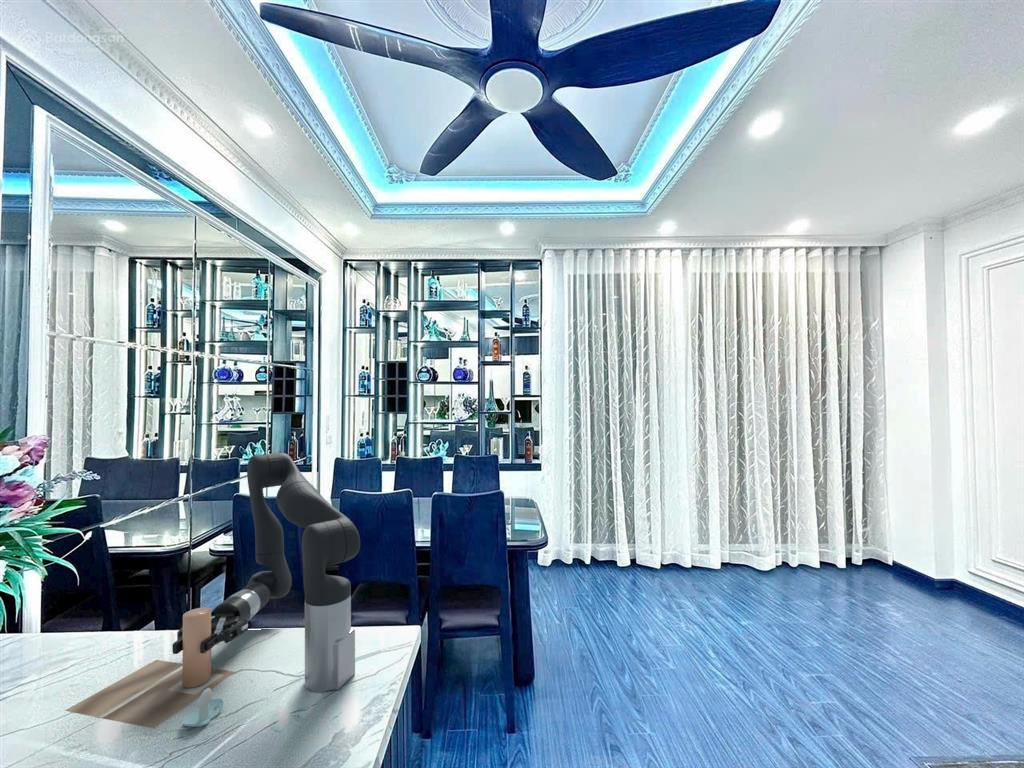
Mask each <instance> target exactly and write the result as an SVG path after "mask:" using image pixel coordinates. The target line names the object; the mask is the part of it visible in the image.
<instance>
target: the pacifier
mask: <svg viewBox="0 0 1024 768" xmlns="http://www.w3.org/2000/svg"><path fill="white" fill-rule="evenodd" d="M212 698H213V691H212V689H210V688H207V689H205V690H204V691H203V692H202V694H201V695H200V697H199V698H197V702H196V708H197V709H196V710H194V711H193V712H191V714H189V715H187V716H186V717H185V718H183V720H182V721H181V722H180V723H179V725H178V729H179V730H180V731H185V730H189V729H192V728H193V727H202V726H206V725H208V724H209V723H210V721H211V720H213V719H215V718H216V717H218V715H219V714H220V713H221V712H222V711H223V710H222V709H223V708H224V707H223V706H224V700H223V699H222V698H217V697H215V698H213V699H212ZM184 726H186V727H184Z"/></svg>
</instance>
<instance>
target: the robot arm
mask: <svg viewBox="0 0 1024 768" xmlns="http://www.w3.org/2000/svg"><path fill="white" fill-rule="evenodd" d="M246 477H247V487H248V492H249V494H248V495H249V500H250V508H251V512H252V519H253V524H254V525H253V526H254V536H255V539H254V540H255V543H254V544H255V561H256V563H257V564H258V565H261V566H266V567H268V568H269V569H270V570H263V571H258V572H256V573H254V574H253V575H252V576H251V577H250V578H249V580H248V582H247V584H246V585H245V587H243V588H242V589H241V590H239V591H237V592H235V593H233V594H232V595H230V596H228V597H227V598H226V599H224V600H223V601H222V602H221V603H219V604H218V605H216V606H215V607H214V608H213V609H212V610H211V635H210V636H209V637H208V638H206V639H205V640H204V641H203V642H201V644H200V653H206V652H207V651H208V650H210V649H211V650H212V649H213V648H214V647H215V646H217V645H220V644H221V643H222V642H224V643H225V644H229V643H232V641H233V640H235V639H238V637H240V636H241V635H243V634H245V633H246V632H248V631H249V622H250V620H251V619H252V618H254V616H255V615H256V614H257V613H259V612H260V610H262V609H263V608H264V607H265V606H266V605H267V604H268V602H269V600H270V599H281V598H284V597H286V596H287V594H289V592H290V590H291V587H292V584H293V583H292V579H293V578H292V574H291V571H290V569H289V565H288V563H287V559H286V556H285V555H286V554H285V540H284V539H285V537H284V529H283V525H282V524H281V522H280V520H279V519H278V518H277V516H276V515H275V514H274V512H273V511H272V510H271V508H270V506H268V504H267V502H266V500H265V497H264V489H266V488H267V489H268V488H272V487H279V486H280V487H279V488H278V490H277V492H276V496H275V497H276V499H275V502H276V506H277V507H278V510H279V511H280V513H281V514H282V516H284V518H285V519H286V520H287V521H288V522H290V523H291V524H293V525H295V526H297V527H300V528H304V530H303V533H302V537H301V552H302V553H301V555H302V556H301V557H302V569H303V570H302V571H303V572H302V573H303V574H302V575H303V576H302V577H303V578H302V579H303V589H304V590H303V591H304V687H305V689H307V690H309V691H311V692H321V693H322V692H327V691H332V690H337V691H338V690H340V689H341V688H342V687H343V686H344V685H345V684H346V683H347V682H348V681H349V680H350V679H351V678H352V677H353V676H354V675H355V674H356V630H355V628H352V624H351V623H352V614H351V613H352V596H351V594H352V586H351V585H352V584H351V581H350V579H348V578H347V577H344V576H339V575H332V574H331V575H330V574H327V573H326V568H327V567H330V566H334V565H338V564H341V563H345V562H348V561H350V560H352V559H354V558H355V557H356V556H357V554H359V551H360V549H361V538H360V534H359V531H358V529H357V527H356V526H355V524H354V523H353V521H351V519H350V518H349V517H347V516H346V515H345V514H344V513H342V512H340V511H339V510H338V509H336V508H335V507H334V506H333V505H332V504H330V503H329V501H327V500H326V498H324V497H323V495H321V493H320V492H319V490H317V488H316V487H315V486H314V485H313V484H311V483H310V481H308V480H307V478H306V477H305V476H304V475H303V474H302V472H301V471H300V469H299V468H298V466H297V465H296V463H295V462H294V460H293V458H292V457H291V456H290V455H289V454H287V453H285V452H273V453H265V454H256V455H255V454H254V455H252V456H251V457H250V458H249V459H248V462H247V466H246ZM176 635H177V636H176V637H177V639H176V641H174V642H173V643H172V646H171V649H172V654H173V655H178V654H179V653H180V652H183V626H182V627H180V629H179V630H178V631H177V634H176Z"/></svg>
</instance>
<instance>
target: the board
mask: <svg viewBox="0 0 1024 768" xmlns="http://www.w3.org/2000/svg"><path fill="white" fill-rule="evenodd" d="M235 673H236V671H234V670H226V669H219V668H212V667H211V678H210V679H209V680H208V681H207V682H205V683H203V684H201V685H199V686H195V687H189V688H188V687H183V686H182V662H181V663H180V662H173V661H169V660H168V661H167V660H162V659H155V660H153V661H151V662H150V663H147V664H146V665H144V666H142V667H141V668H139V669H137V670H136V671H133V672H132V673H130V674H128V675H126V676H125V677H123V678H121V679H118V680H117V681H115V682H113V683H112V684H110V685H108V686H107V687H105V688H102V689H101V690H99V691H97V692H96V693H94V694H92V695H90V696H89V697H86V698H85V699H83V700H81V701H80V702H77V703H75V704H74V705H71V706H70V707H69V708H66V709H65V710H64V712H70V713H74V714H78V715H79V714H80V715H84V716H89V717H95V718H99V719H103V720H109V721H114V722H119V723H124V724H130V725H133V726H138V727H139V726H140V727H145V728H149V729H156V728H157V727H159V726H160V725H162V724H163V723H165V722H166V721H167V720H168V719H170V718H171V717H173V716H174V715H175V714H177V713H179V712H180V711H181V710H184V708H186V707H187V706H188V705H190V704H191V703H193V702H194V701H196V700H198V699H199V697H200V695H201V694H202V692H203V691H204V690H205V689H207V688H210V689H211V690H212V689H213V688H214V687H216V686H217V685H219V684H220V683H221V682H223V681H225V680H227V678H229V677H231V675H233V674H235Z"/></svg>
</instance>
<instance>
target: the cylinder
mask: <svg viewBox="0 0 1024 768" xmlns="http://www.w3.org/2000/svg"><path fill="white" fill-rule="evenodd" d="M211 612H212V608H211V607H208V606H207V607H205V606H204V607H198V608H197V607H196V608H194V609H190V610H189V611H185V613H183V615H182V627H183V650H182V657H181V658H182V662H181V664H182V686H183V687H188V688H189V687H195V686H199V685H201V684H203V683H205V682H207V681H208V680H209V679H210V678H211V668H212V648H211V649H210V650H208V651H207V652H206V653H200V644H201V642H203V641H204V640H205V639H206V638H208V637H209V636H210V635H211Z"/></svg>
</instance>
